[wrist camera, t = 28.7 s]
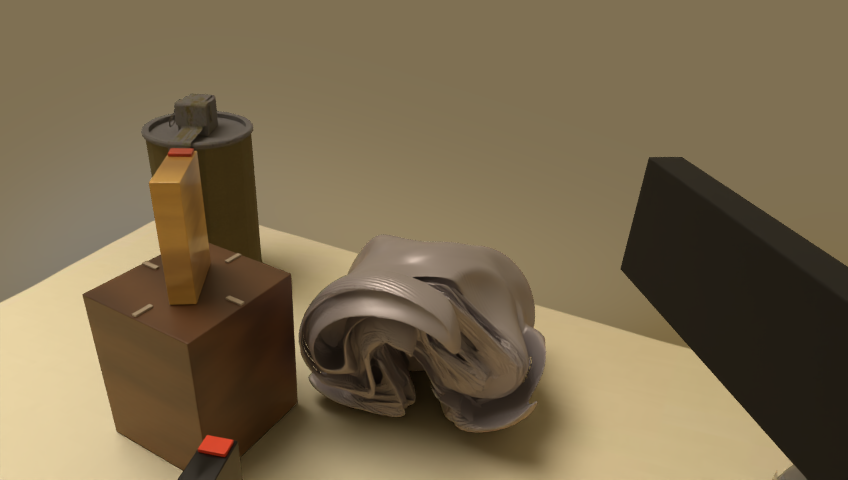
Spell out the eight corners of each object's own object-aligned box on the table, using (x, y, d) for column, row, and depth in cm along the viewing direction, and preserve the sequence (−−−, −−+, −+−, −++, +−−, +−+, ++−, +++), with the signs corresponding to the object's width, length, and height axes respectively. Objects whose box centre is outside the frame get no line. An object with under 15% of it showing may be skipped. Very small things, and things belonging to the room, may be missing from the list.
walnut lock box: (209, 486, 44) (187, 342, 37) (116, 431, 48) (81, 292, 41) (298, 402, 52) (291, 271, 45) (211, 361, 55) (194, 235, 49)
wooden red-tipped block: (196, 304, 41) (179, 179, 37) (169, 305, 41) (147, 178, 36) (211, 262, 46) (196, 147, 41) (186, 263, 46) (169, 147, 41)
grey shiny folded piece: (543, 377, 58) (561, 229, 54) (528, 497, 42) (553, 298, 38) (348, 345, 63) (351, 205, 59) (266, 441, 46) (262, 258, 42)
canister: (185, 249, 73) (160, 83, 63) (272, 253, 73) (261, 88, 63) (150, 301, 63) (115, 114, 53) (251, 305, 63) (234, 120, 54)
